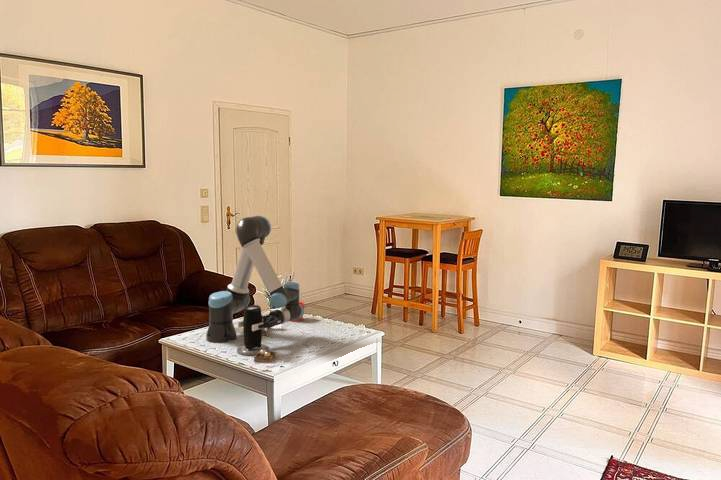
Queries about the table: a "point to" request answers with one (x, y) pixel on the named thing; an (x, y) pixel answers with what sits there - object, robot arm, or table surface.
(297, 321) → the flower pot
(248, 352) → the slate trivet
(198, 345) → the table surface
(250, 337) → the portable speaker
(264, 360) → the walnut dish
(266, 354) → the brass ball
